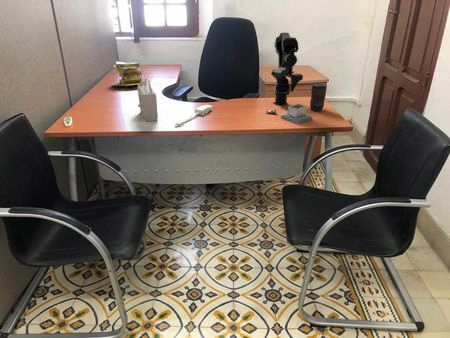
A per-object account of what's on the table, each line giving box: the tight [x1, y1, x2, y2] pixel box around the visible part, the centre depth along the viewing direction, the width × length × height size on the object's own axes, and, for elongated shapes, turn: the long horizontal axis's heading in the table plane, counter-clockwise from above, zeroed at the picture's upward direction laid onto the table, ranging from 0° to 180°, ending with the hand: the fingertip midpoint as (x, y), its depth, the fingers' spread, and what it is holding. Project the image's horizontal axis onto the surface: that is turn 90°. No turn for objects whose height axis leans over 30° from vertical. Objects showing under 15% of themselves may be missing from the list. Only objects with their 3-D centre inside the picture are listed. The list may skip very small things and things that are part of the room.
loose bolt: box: [265, 108, 277, 115], centre depth 197 cm, size 5×3×3 cm, turn 74°
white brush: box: [174, 104, 213, 127], centre depth 191 cm, size 5×32×3 cm, turn 150°
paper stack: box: [111, 61, 148, 89], centre depth 247 cm, size 25×25×17 cm
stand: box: [280, 112, 313, 125], centre depth 190 cm, size 12×12×2 cm
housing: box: [287, 103, 308, 118], centre depth 189 cm, size 6×8×5 cm
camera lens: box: [309, 82, 327, 112], centre depth 201 cm, size 8×8×15 cm
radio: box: [137, 69, 159, 122], centre depth 187 cm, size 22×8×25 cm, turn 21°
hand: (285, 90), depth 197 cm, fingers open, 9 cm apart
